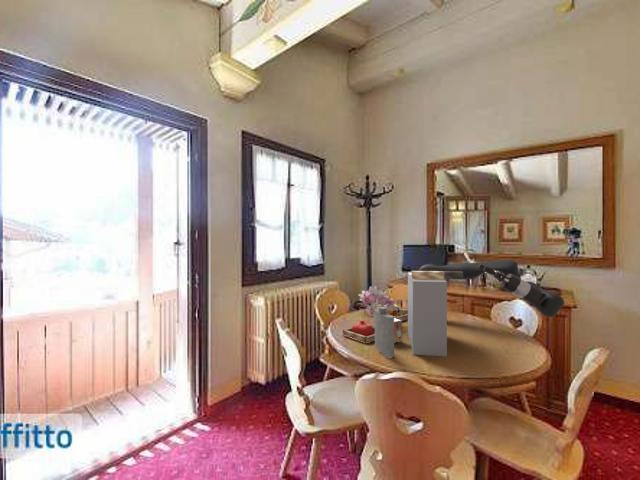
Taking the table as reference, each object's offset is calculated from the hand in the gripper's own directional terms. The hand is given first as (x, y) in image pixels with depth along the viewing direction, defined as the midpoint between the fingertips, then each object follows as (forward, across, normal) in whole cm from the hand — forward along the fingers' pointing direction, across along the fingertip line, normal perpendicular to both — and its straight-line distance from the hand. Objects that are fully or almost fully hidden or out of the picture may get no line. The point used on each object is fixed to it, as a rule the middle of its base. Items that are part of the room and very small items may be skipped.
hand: (482, 267), depth 152 cm
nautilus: (+16, -49, +52) cm, 73 cm away
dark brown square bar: (+15, +4, +14) cm, 21 cm away
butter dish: (+28, -9, +60) cm, 67 cm away
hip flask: (+20, +12, +54) cm, 59 cm away
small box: (+16, -3, +52) cm, 55 cm away
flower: (+22, -29, +56) cm, 67 cm away
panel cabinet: (+3, -3, +44) cm, 44 cm away
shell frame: (+16, -52, +52) cm, 75 cm away
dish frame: (+28, -8, +59) cm, 65 cm away
